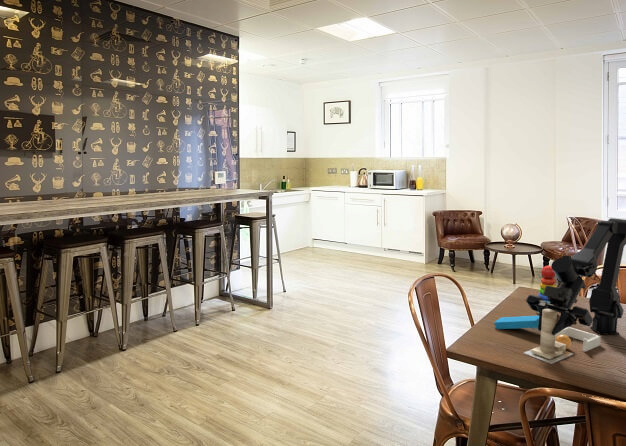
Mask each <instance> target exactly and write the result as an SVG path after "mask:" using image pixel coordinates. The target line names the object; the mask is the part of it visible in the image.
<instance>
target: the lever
mask: <svg viewBox="0 0 626 446" xmlns="http://www.w3.org/2000/svg"><path fill="white" fill-rule="evenodd" d="M538 323H539V315H523V316H506V317H505V316H502V317H499V318H498V319H497V320H495V321H494V327H495V328H494V329H496V330H504V329H506V330H510V329H531V330H534V331H537V332H539V333H541V331H539V330H538Z"/></svg>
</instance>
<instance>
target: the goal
mask: <svg viewBox="0 0 626 446" xmlns="http://www.w3.org/2000/svg"><path fill="white" fill-rule="evenodd" d="M559 335H566V336H568V337H569V338H573V339H576V340H579V341H582V352H588V351H590V350H592V349H594V348H598V347H600V345H601V341H602V340H601V337H602V336H601V335H597V334H594V333H591V332H587V331H584V330H581V329H579V328H578V329H577V328H574V327H571V326H569V327H567V328H565V329H563V330H562V331H560V332H559V333H557V334H555V341H556V338H557V337H558V336H559Z"/></svg>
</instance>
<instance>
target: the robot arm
mask: <svg viewBox="0 0 626 446" xmlns="http://www.w3.org/2000/svg"><path fill="white" fill-rule="evenodd" d="M625 246H626V219H624V218H623V219H621V218H613V217H611V218H609V219H608V220H598V222H597V224H596V228H595V230H594V231H593V233H592V235H591V236H590V238H589V239H588V241H587V242H586V244H585V245H584V247H583V248H582V249H581V250H580V251H577V252H575V253H574V254H573V255H572V256H571V255H567V254H563V256H562V257H559V258H556V259H554V261H552V263H551V265H550V266H551V267H552V269H553V271H554V273H555V276H556V278H557V280H558V281H559V282H561V283H560V285H559V286H556V288H555V287H551V286H546V287H545V290H544V294H543V295H544V296H547V297H548V298H547V300H548V301H550V304H549V303H547V302H545V301H543V299H542V298H541V297H539V296H538V295H535V294H529V295H528V296H527V297H526V299H525V301H526V303H527V305H528V306H529V308H530V309H531V310H532V311H535V312H536V311H537V312H539V314H538V316H539V323H538V330H539V331H541V325H542V310H543V309H552V310H555V311H557V312H558V314H560V316H559V319H557V320H558V321H556V325H555V327H554V329H553V331H552V335H555V334H557V333H559V332H560V331H562V330H563V329H565V328H567V327H571V326H573V325H574V326H577V322H578V323H579V325H582V326H586V327H590V329H592V330H593V331H594V332H597V333H598V334H599V335H620V332H619V331H618V329H617V328H618V327H617V326H618V319H622V317H623V315H624V308H623V306H622V304H621V303H620V297H621V296H620V294H619V292H618V289H617V284H618V279H619V273H620V269H621V263H622V258H623V254H624V253H623V252H624V248H625ZM605 247H606V250H605V251H606V252H605V256H604V261H603V265H602V266H603V267H602V270H601V275H600V281H599V284H598V285H597V286H596V287H595V288H593V289H591V293H590V297H589V301H588V304H589V310H588V309H587V308H585V307H580V306H577V305H576V306H573V305H574V304H577V303H578V299H577V298H578V296H579V294H580V293H581V291H582V289H584V290H585V289H586V284H585V280H584V279H583V278H592V277H593V276H594V275H595V274H596V273H597V269H598V258H599V256H600V255H601V254H602V252H603V250H604V249H605ZM537 312H536V313H537ZM590 313H594V316H593V317H592V316H591V314H590ZM539 331H538V332H539Z"/></svg>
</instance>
